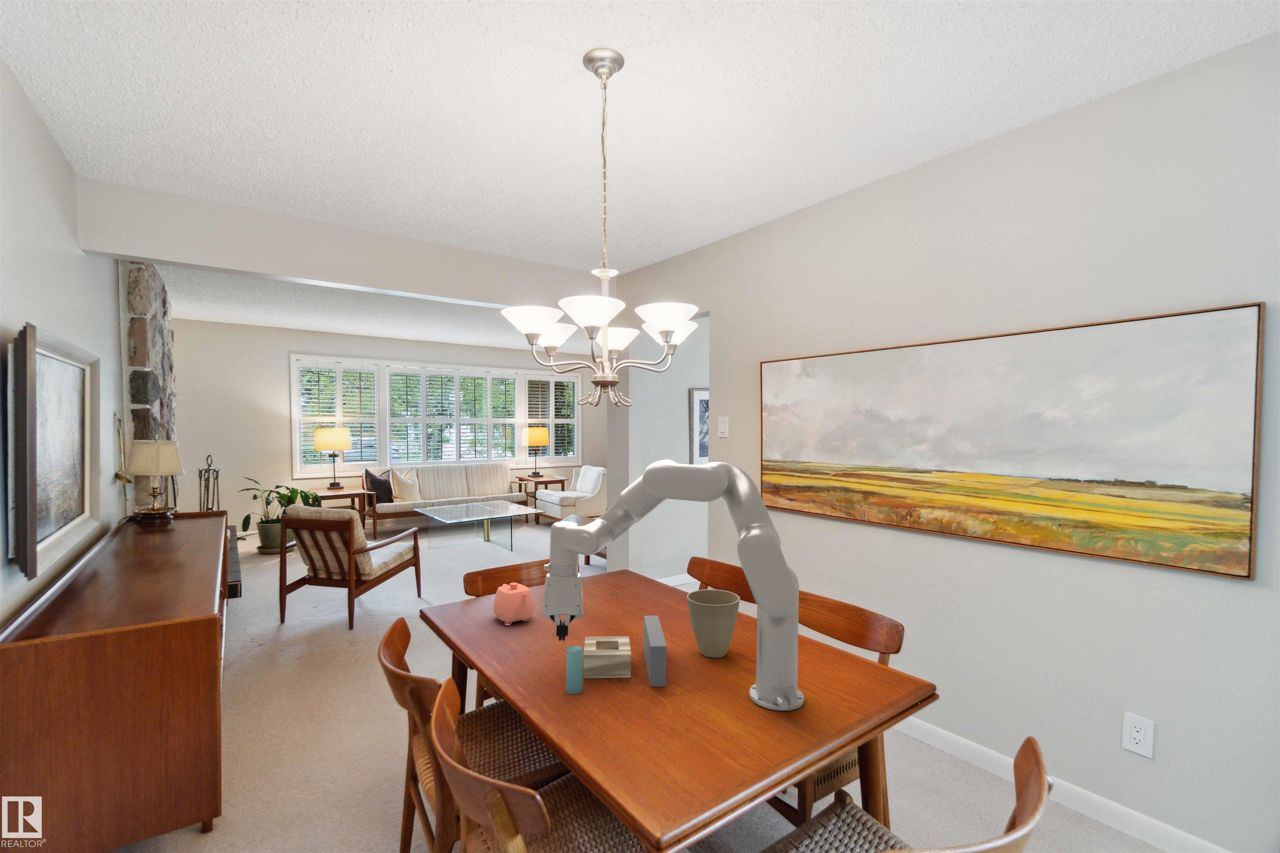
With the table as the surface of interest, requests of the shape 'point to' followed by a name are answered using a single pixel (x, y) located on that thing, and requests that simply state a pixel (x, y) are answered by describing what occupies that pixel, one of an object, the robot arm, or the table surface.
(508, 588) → the teapot
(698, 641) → the plant pot
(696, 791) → the table surface
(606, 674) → the socket block
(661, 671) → the rail
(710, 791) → the table surface
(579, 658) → the dowel
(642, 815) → the table surface
